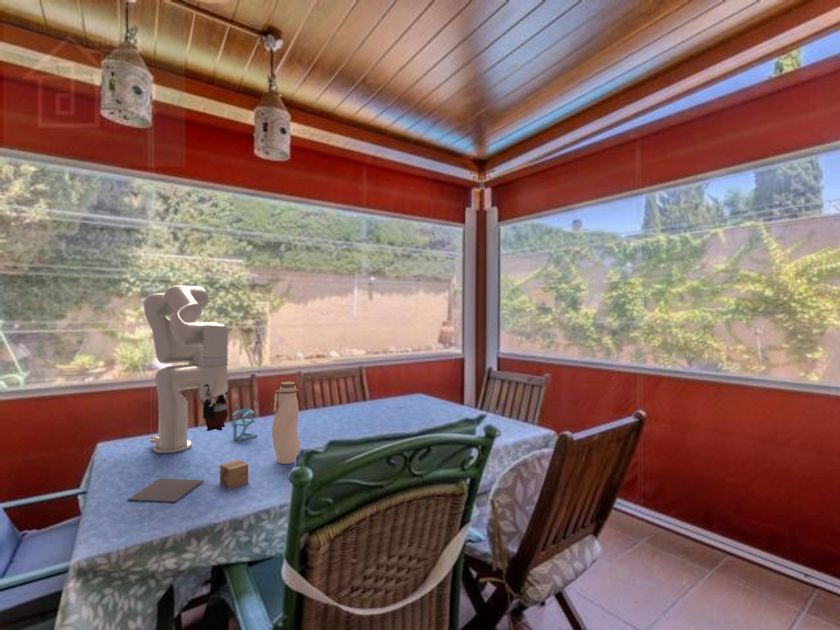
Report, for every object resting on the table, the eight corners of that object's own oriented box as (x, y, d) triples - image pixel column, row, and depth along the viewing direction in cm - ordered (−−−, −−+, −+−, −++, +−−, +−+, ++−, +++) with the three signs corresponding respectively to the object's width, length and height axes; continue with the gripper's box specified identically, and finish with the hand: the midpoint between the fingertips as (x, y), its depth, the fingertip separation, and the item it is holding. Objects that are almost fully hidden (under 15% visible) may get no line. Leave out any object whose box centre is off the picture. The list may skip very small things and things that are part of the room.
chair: (228, 440, 173) (228, 411, 173) (242, 434, 181) (242, 406, 181) (243, 442, 171) (243, 413, 170) (257, 436, 179) (257, 408, 178)
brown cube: (219, 483, 133) (219, 464, 133) (238, 477, 138) (238, 459, 137) (229, 489, 129) (229, 469, 129) (248, 483, 134) (248, 464, 133)
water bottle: (272, 467, 146) (273, 386, 145) (268, 458, 154) (269, 381, 153) (302, 462, 151) (303, 384, 150) (297, 454, 159) (298, 380, 158)
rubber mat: (127, 500, 120) (127, 499, 120) (160, 480, 134) (160, 478, 134) (175, 502, 120) (175, 501, 120) (203, 481, 134) (203, 480, 134)
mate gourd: (232, 427, 141) (232, 383, 140) (209, 434, 134) (209, 387, 134) (218, 424, 145) (218, 380, 144) (196, 429, 138) (196, 384, 138)
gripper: (217, 357, 148) (217, 408, 149) (188, 365, 131) (188, 422, 131) (238, 358, 148) (238, 408, 148) (212, 366, 130) (211, 423, 131)
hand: (214, 414), depth 140 cm, fingers closed on mate gourd, 7 cm apart
